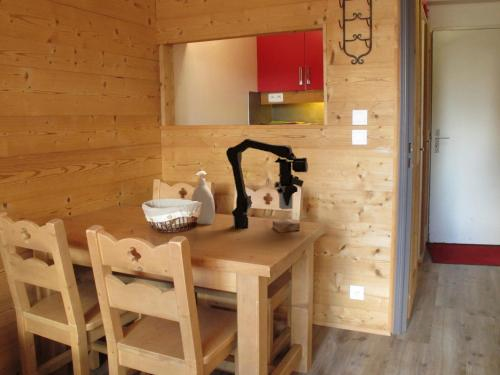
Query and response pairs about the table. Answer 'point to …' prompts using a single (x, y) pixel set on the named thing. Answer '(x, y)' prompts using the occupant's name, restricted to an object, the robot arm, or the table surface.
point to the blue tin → (282, 202)
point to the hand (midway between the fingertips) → (285, 204)
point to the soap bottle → (204, 200)
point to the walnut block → (286, 225)
